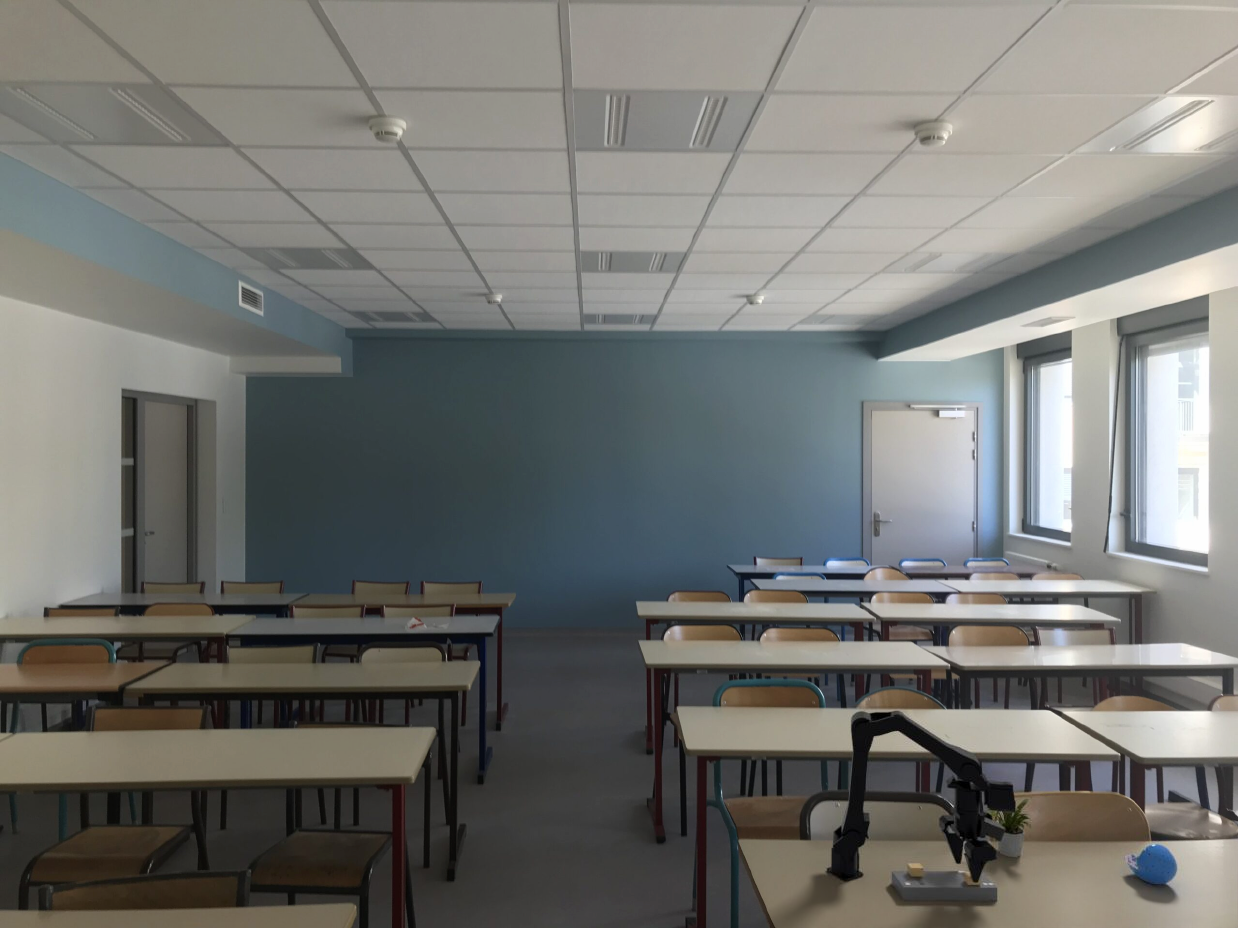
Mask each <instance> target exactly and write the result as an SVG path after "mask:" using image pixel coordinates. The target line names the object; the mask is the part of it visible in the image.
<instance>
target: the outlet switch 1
mask: <svg viewBox="0 0 1238 928" xmlns="http://www.w3.org/2000/svg"><path fill="white" fill-rule="evenodd" d="M906 869H907V870H906V871H907V872H908V873H909V875H910V876H911V877H923V871H924V867H923V865H921V863H920V862H919V863H916V862H914V863H913V862H912V863H910V862H909V863H907V864H906Z"/></svg>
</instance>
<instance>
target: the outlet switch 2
mask: <svg viewBox="0 0 1238 928" xmlns="http://www.w3.org/2000/svg"><path fill="white" fill-rule="evenodd" d="M963 871H964V881H965V882H966V883H967V884H968V885H981V876H980V878H979V881H978V882H977V883H974V882H973V881H972V878H971V875H970V872H968V871H969V870H966V871H965V870H963Z"/></svg>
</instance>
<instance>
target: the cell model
mask: <svg viewBox="0 0 1238 928" xmlns="http://www.w3.org/2000/svg"><path fill="white" fill-rule="evenodd" d="M1123 858H1124V860H1125V861H1126V864H1127V865H1128V867H1129V869H1130V870H1131V871H1132V872H1133V874H1134V875H1136V876H1137V877H1138V878H1140V880H1143V881H1144V882H1147V883H1149V884H1153V885H1165V884H1168V883H1169V882H1172V881H1173V879H1174V878H1175V877H1176V875H1177V872H1178V863H1177V860H1176V859H1175V856H1174V855H1173V853H1172V852H1171V850H1170V849H1168V848H1167V847H1166V846H1164V845H1161V844H1158V843H1157V844H1151V845H1147V846H1146V847H1145V849H1142V851H1141V852H1140V854H1137V853H1136V854H1135V853H1134V854H1132V853H1131V854H1127V855H1125V856H1123Z"/></svg>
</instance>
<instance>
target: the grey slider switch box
mask: <svg viewBox="0 0 1238 928" xmlns="http://www.w3.org/2000/svg"><path fill="white" fill-rule="evenodd" d="M964 871H965V870H923V877H911V876H910V875H909V873H908V872H907V870H891V885H892V886H893V887H894V889H895V890H896V892H897V893H898V894H899V896H900V898H902V900H903V901H957V902H958V901H959V902H960V901H961V902H963V901H965V902H967V901H968V902H969V901H982V902H983V901H988V902H989V901H991V902H992V901H993V902H994V901H995V902H996V901H998V886H997V885H995V884H994V883H993V882H992V881H991V880H990V878H989V877H987V875H986V874H985V873H984V872H983V871H982V873H981V885H968V884H967V883H966V882H965V881H964ZM967 871H968V872H969V870H967Z"/></svg>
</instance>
